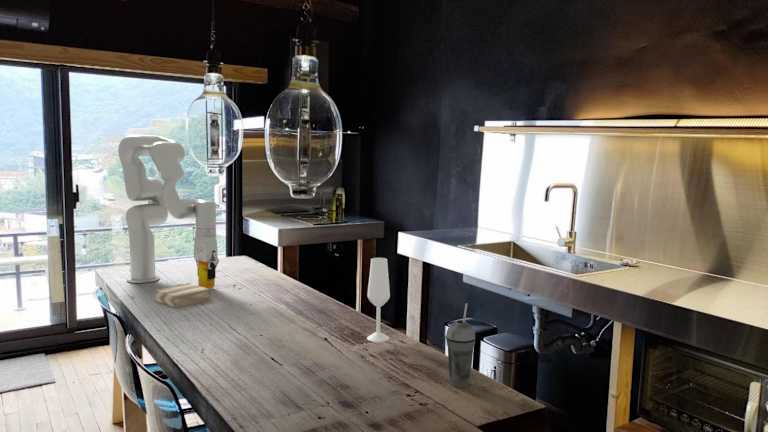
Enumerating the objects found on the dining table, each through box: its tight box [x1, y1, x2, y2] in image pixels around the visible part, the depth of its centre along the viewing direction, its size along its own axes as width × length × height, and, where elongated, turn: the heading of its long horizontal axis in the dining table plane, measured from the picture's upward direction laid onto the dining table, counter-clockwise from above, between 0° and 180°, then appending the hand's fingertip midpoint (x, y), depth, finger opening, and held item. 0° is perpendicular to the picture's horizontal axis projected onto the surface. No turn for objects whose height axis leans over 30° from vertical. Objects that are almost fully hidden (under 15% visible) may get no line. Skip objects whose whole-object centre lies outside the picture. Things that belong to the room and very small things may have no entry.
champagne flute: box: [366, 257, 391, 343], centre depth 170 cm, size 7×7×24 cm
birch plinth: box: [154, 282, 212, 309], centre depth 210 cm, size 14×14×4 cm
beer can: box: [197, 253, 216, 291], centre depth 225 cm, size 6×6×15 cm
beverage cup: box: [445, 302, 477, 388], centre depth 138 cm, size 7×7×20 cm
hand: (206, 276), depth 225 cm, fingers closed on beer can, 6 cm apart
